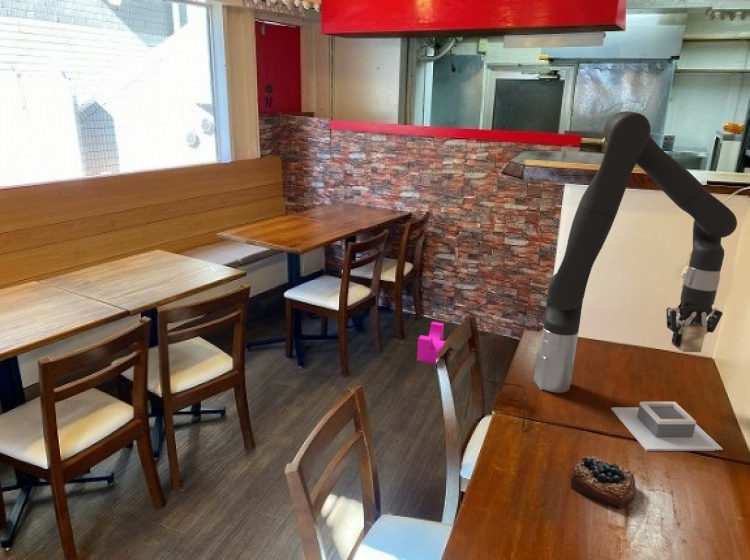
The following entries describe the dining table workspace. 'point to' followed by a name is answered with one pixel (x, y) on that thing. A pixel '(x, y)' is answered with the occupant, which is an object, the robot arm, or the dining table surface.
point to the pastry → (603, 481)
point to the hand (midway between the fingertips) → (686, 345)
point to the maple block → (692, 338)
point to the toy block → (431, 344)
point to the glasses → (502, 392)
